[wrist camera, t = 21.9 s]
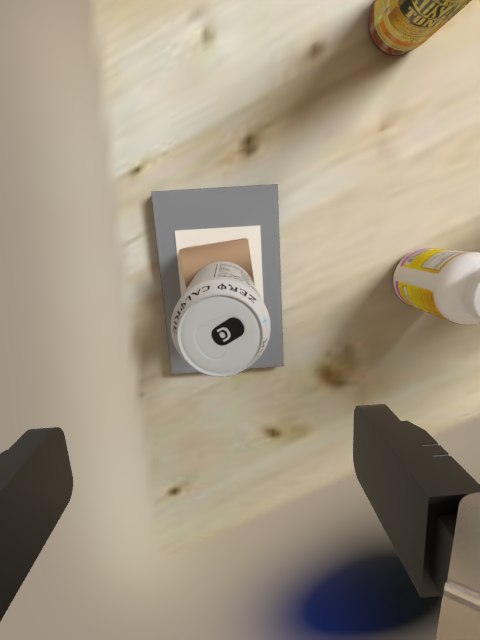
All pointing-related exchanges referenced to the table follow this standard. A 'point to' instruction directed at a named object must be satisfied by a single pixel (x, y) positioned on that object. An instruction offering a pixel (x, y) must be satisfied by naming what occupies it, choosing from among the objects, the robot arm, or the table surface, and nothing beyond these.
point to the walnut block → (215, 257)
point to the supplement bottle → (441, 283)
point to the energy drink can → (220, 321)
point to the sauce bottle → (409, 22)
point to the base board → (217, 226)
